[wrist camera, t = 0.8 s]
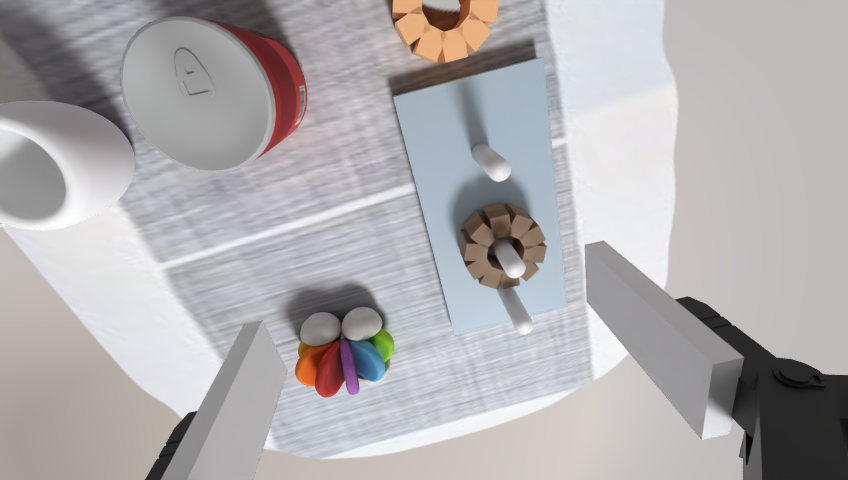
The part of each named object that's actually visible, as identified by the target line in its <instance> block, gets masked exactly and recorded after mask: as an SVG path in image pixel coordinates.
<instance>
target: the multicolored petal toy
mask: <svg viewBox="0 0 848 480" xmlns="http://www.w3.org/2000/svg"><path fill="white" fill-rule="evenodd" d="M381 327H382V319H381V317H380V316H379V314H378V313H377V312H376V311H374V310H373V309H371V308H368V307H358V308H355V309H353V310H351V311H350V312H349V313H348V314H347V315H346V316H345V318H344V319H343V322H342V324H341V322H340V321H339V320H338V318H337V317H336V316H334V315H333V314H330V313H327V312H318V313H315V314H313V315H311V316H310V317H308V318H307V319H306V320H305V322H304V323H303V325H302V327H301V332H300V337H301V340H302V341H301V343H300V345H299V349H298V354H299V357H300V358H299V360H298V362H297V364H296V368H295V375H296V377H297V379H298V380H299V381H300V382H301V383H302V384H304V385H307V386H315V388H316V391H317V392H318V394H319V395H321V396H323V397H331V396H333V395H334V394H336V393H337V392H338V390H339V389H340V387H341V386H342V385H343V384H344V383H346V387H347V390H348V392H349V394H351V395H354V394H357V393H358V391H359V382H361V383H363V384H366V385H374V384H377V383H379V382H381V381H382V380H383V379H384V378H385V377H386V376H387V374H388V372H389V370H390V359H389V358H390V357H391V356H392V354H393V351H394V341H393V339H392V337H391V335H390V334H389V333H388V332H387V331H385V330H383V329H382V328H381ZM341 332H342V334H343V335H344V336H345V337H346V338H342V339H341V338H340V334H341ZM358 381H359V382H358Z"/></svg>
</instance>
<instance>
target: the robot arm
mask: <svg viewBox="0 0 848 480" xmlns="http://www.w3.org/2000/svg"><path fill="white" fill-rule="evenodd" d="M585 267H586V293H587V302H588V304H589V305H590V306H591V307H592V308H593V310H594V311H595V312H596V313H597V314H598V316H599V317H600V318H601V319H602V320H603V322H604V323H605V324H606V325H607V326H608V328H609V329H610V330H611V331H612V333H613V334H614V335H615V336H616V337H617V339H618V340H619V341H620V342H621V343H622V345H623V346H624V347H625V348H626V349H627V351H628V352H629V353H630V354H631V355H632V356H633V358H634V359H635V360H636V361H637V363H638V364H639V365H640V366H641V367H642V369H643V370H644V371H645V372H646V373H647V375H648V376H649V377H650V378H651V379H652V381H653V382H654V383H655V384H656V385H657V387H658V388H659V389H660V390H661V391H662V392H663V394H664V395H665V396H666V398H667V399H668V400H669V401H670V402H671V404H672V405H673V406H674V407H675V408H676V410H677V411H678V412H679V413H680V414H681V416H682V417H683V418H684V419H685V420H686V421H687V423H688V424H689V425H690V426H691V428H692V429H693V430H694V431H695V432H696V434H697V435H698V436H699V437H700V438H701V440H703V439H708V438H712V437H716V436H721V435H725V434H729V433H730V428H731V423H732V418H733V419H734V420H735V421H736V422H737V423H738V424H739V425H740V426H741V427H742V428H743V429H744V430H745V431H744V436H743V441H742V445H741V450H740V454H739V457H740V458H743V480H848V375H826V374H822V373H821V372H820V371H818V370H817V369H815V368H813V367H811V366H809V365H807V364H805V363H802V362H799V361H795V360H792V359H784V358H776V357H775V356H774V355H772V354H771V353H770V352H768V351H767V350H766V349H764V348H763V347H762V346H761V345H759V344H758V343H757V342H755V341H754V340H753V339H751V338H750V337H749V336H747V335H746V334H745V333H743V332H742V331H741V330H740V329H738V328H737V327H736V326H732V324H731V323H730V322H729V321H728V320H726V319H725V318H724V317H721V316H720V314H719V313H717V312H716V311H714V310H713V309H712V308H711V307H709V306H708V305H707V304H705V303H702V302H700V301H698V300H695V299H693V298H691V297H684V298H679V299H673V298H672V297H671V296H670V295H668V294H667V293H666V292H665V291H664V290H663V289H661V288H660V287H659V286H658V285H657V284H655V283H654V282H653V281H652V280H651V279H649V278H648V277H647V276H646V275H644V274H643V273H642V272H641V271H640V270H638V269H637V268H636V267H635V266H634V265H632V264H631V263H630V262H629V261H628V260H626V259H625V258H624V257H623V256H622V255H620V254H619V253H618V252H617V251H616V250H614V249H613V248H612V247H611V246H610V245H608V244H607V243H606V242H605V241H600V242H596V243H591V244H587V245H585ZM286 375H287V368H286V366H285V364H284V362H283V360H282V358H281V356H280V354H279V352H278V350H277V348H276V346H275V344H274V342H273V340H272V338H271V336H270V334H269V332H268V330H267V328H266V326H265V324H264V322H263V320H261V321H257V322H253V323H248V324H244V326H243V327H242V329H241V331H240V333H239V335H238V337H237V339H236V340H235V342H234V344H233V346H232V348H231V350H230V352H229V353H228V355H227V357H226V359H225V361H224V363H223V365H222V367H221V368H220V370H219V372H218V374H217V376H216V378H215V380H214V381H213V383H212V385H211V387H210V389H209V391H208V393H207V395H206V396H205V398H204V400H203V402H202V404H201V406H200V408H199V409H198V411H195V412H191V413H188V414H187V415H186V416H185V417H184V419H183V420H182V421H181V422H180V423H179V424H178V425H177V426H176V427H175V429H174V430H173V432H172V434H171V436H170V437H169V439H168V441H167V442H166V446H164V448H163V450H162V451H161V453H160V455H159V459H157V460H156V462H155V463H154V465H153V467H152V469H151V470H150V472H149V474H148V476H147V477H146V479H145V480H253V479H254V476H255V473H256V469H257V466H258V463H259V460H260V457H261V453H262V451H263V447H264V444H265V441H266V438H267V435H268V432H269V428H270V425H271V422H272V419H273V416H274V413H275V409H276V406H277V403H278V400H279V397H280V394H281V390H282V387H283V384H284V381H285V378H286Z"/></svg>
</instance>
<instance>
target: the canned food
mask: <svg viewBox="0 0 848 480" xmlns="http://www.w3.org/2000/svg"><path fill="white" fill-rule="evenodd" d="M120 86H121V90H122V95H123V100H124V103H125V105H126V108H127V110H128V113H129V115H130V117H131V119H132V120H133V122H134V124H135V125H136V127H137V129H138V130H139V131H140V133H141V134H142V135H143V136H144V137H145V139H146V140H147V141H148V142H149V143H150V144H151V145H152V146H153V147H154V148H155V149H156V150H158V151H159V152H160V153H161V154H162V155H164V156H165V157H167V158H168V159H170V160H171V161H173V162H175V163H177V164H179V165H181V166H184V167H186V168H188V169H192V170H196V171H199V172H206V173H223V172H230V171H233V170H236V169H239V168H242V167H244V166H246V165H248V164H249V163H251V162H253V161H254V160H256V159H257V158H259V157H261V156H262V155H263V154H265V153H266V152H267V151H269V150H270V149H271V148H273V147H274V146H275V145H277V144H278V143H279V142H280V141H282V140H283V139H284V138H286V137H287V136H288V135H290V134H291V133H292V132H293V131H294V130H295V129H296V128H297V127H298V126H299V124H300V122H301V121H302V119H303V117H304V114H305V111H306V106H307V88H306V83H305V79H304V76H303V74H302V71H301V69H300V67H299V65H298V63H297V62H296V60H295V59H294V57H293V56H292V55H291V54H290V53H289V51H288V50H287V49H286V48H285V47H283V46H282V45H281V44H280V43H279V42H277V41H276V40H274V39H272V38H270V37H269V36H266V35H264V34H261V33H258V32H254V31H250V30H247V29H243V28H239V27H235V26H231V25H227V24H223V23H219V22H216V21H212V20H207V19H202V18H195V17H188V16H176V17H164V18H161V19H158V20H155V21H152V22H150V23H148V24H147V25H145V26H144V27H142V28H141V29H140V30H138V31H137V32H136V34H135V35H134V36H133V37H132V38H131V40H130V41H129V43H128V45H127V47H126V49H125V51H124V53H123V57H122V62H121V66H120Z"/></svg>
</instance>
